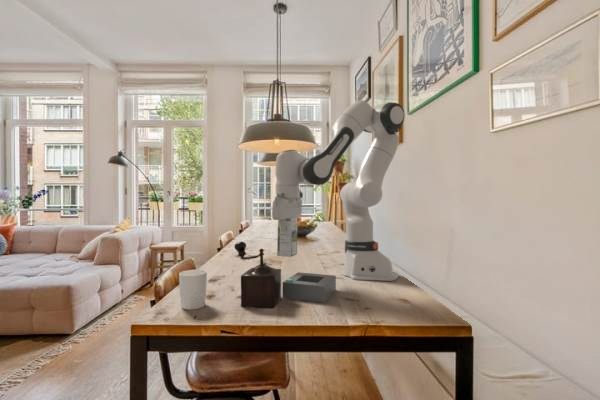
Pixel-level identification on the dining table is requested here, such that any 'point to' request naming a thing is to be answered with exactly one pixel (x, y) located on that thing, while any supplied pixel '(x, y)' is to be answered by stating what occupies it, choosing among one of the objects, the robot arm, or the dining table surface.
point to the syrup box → (287, 238)
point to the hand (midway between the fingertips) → (287, 230)
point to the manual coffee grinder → (259, 282)
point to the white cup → (192, 288)
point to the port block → (309, 287)
